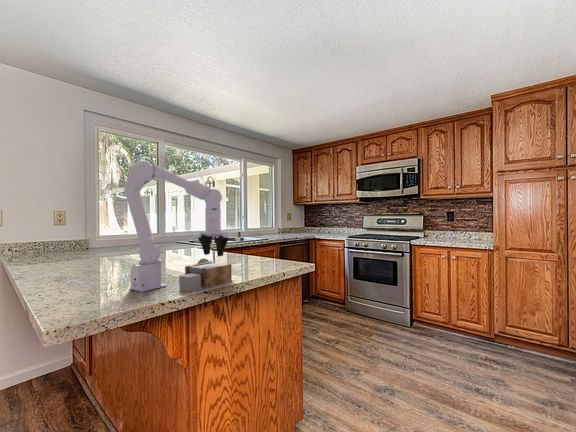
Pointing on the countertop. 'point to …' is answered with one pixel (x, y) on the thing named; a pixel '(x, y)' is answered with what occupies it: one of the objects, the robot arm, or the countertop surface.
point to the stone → (190, 282)
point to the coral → (202, 261)
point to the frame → (213, 274)
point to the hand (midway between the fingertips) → (213, 255)
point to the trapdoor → (202, 268)
